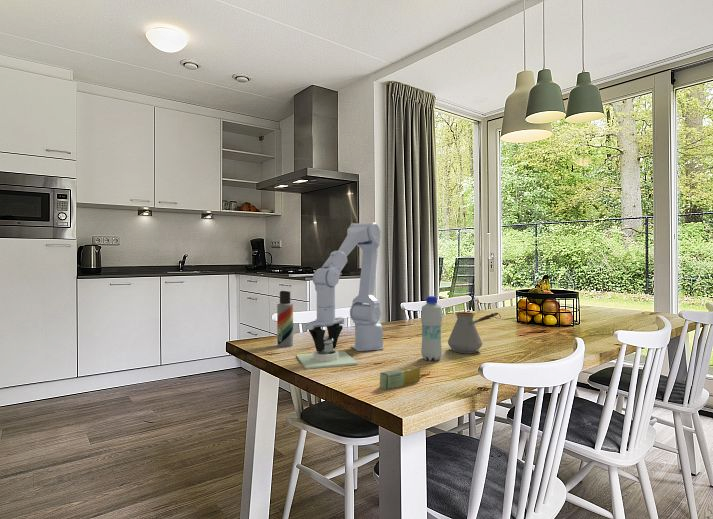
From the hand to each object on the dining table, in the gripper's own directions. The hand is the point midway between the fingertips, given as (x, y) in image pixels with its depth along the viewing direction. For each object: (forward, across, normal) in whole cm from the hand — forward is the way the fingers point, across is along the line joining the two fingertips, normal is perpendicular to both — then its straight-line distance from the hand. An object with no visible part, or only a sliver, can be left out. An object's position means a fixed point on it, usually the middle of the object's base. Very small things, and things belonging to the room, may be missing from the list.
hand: (326, 349), depth 137 cm
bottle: (+4, -23, +24) cm, 33 cm away
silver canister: (+3, -1, 0) cm, 3 cm away
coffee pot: (+4, -39, +31) cm, 50 cm away
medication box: (+4, +4, +32) cm, 33 cm away
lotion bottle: (+4, -5, -27) cm, 28 cm away
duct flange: (+3, 0, 0) cm, 3 cm away
